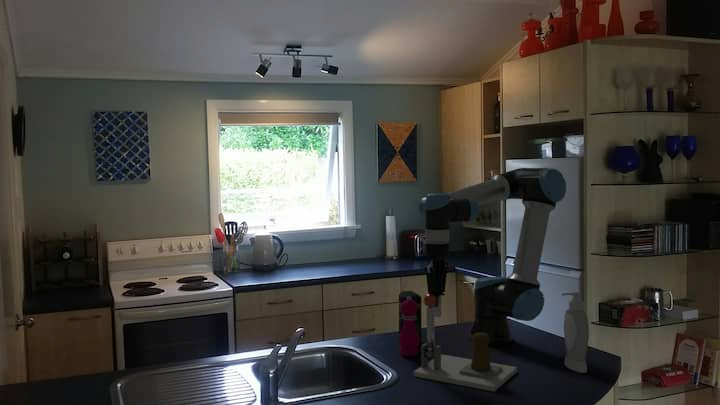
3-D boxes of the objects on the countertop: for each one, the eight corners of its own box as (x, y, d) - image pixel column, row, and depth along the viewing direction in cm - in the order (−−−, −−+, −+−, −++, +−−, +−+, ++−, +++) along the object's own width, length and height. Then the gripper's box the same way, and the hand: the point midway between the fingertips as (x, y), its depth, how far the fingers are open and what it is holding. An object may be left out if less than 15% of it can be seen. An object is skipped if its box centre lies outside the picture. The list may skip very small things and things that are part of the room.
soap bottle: (550, 363, 211) (551, 289, 210) (571, 361, 213) (572, 288, 211) (572, 376, 199) (573, 297, 197) (594, 373, 200) (596, 296, 199)
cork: (490, 372, 195) (491, 336, 195) (470, 371, 197) (470, 335, 196) (490, 366, 201) (491, 331, 200) (471, 364, 202) (471, 330, 202)
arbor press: (441, 358, 217) (441, 333, 216) (516, 371, 203) (517, 345, 203) (413, 376, 200) (413, 349, 199) (494, 391, 186) (494, 362, 186)
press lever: (428, 355, 206) (427, 292, 204) (439, 357, 204) (438, 293, 202) (422, 359, 203) (421, 294, 201) (434, 361, 200) (433, 296, 198)
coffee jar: (424, 345, 232) (424, 294, 231) (402, 346, 231) (402, 295, 230) (417, 337, 242) (417, 288, 241) (396, 339, 241) (396, 289, 239)
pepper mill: (396, 355, 221) (395, 297, 220) (402, 349, 228) (402, 293, 227) (416, 357, 219) (416, 298, 217) (422, 351, 225) (422, 294, 224)
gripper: (435, 239, 212) (434, 310, 214) (417, 243, 201) (416, 318, 203) (456, 241, 208) (455, 313, 210) (439, 245, 197) (438, 321, 199)
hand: (436, 316), depth 206 cm, fingers closed
